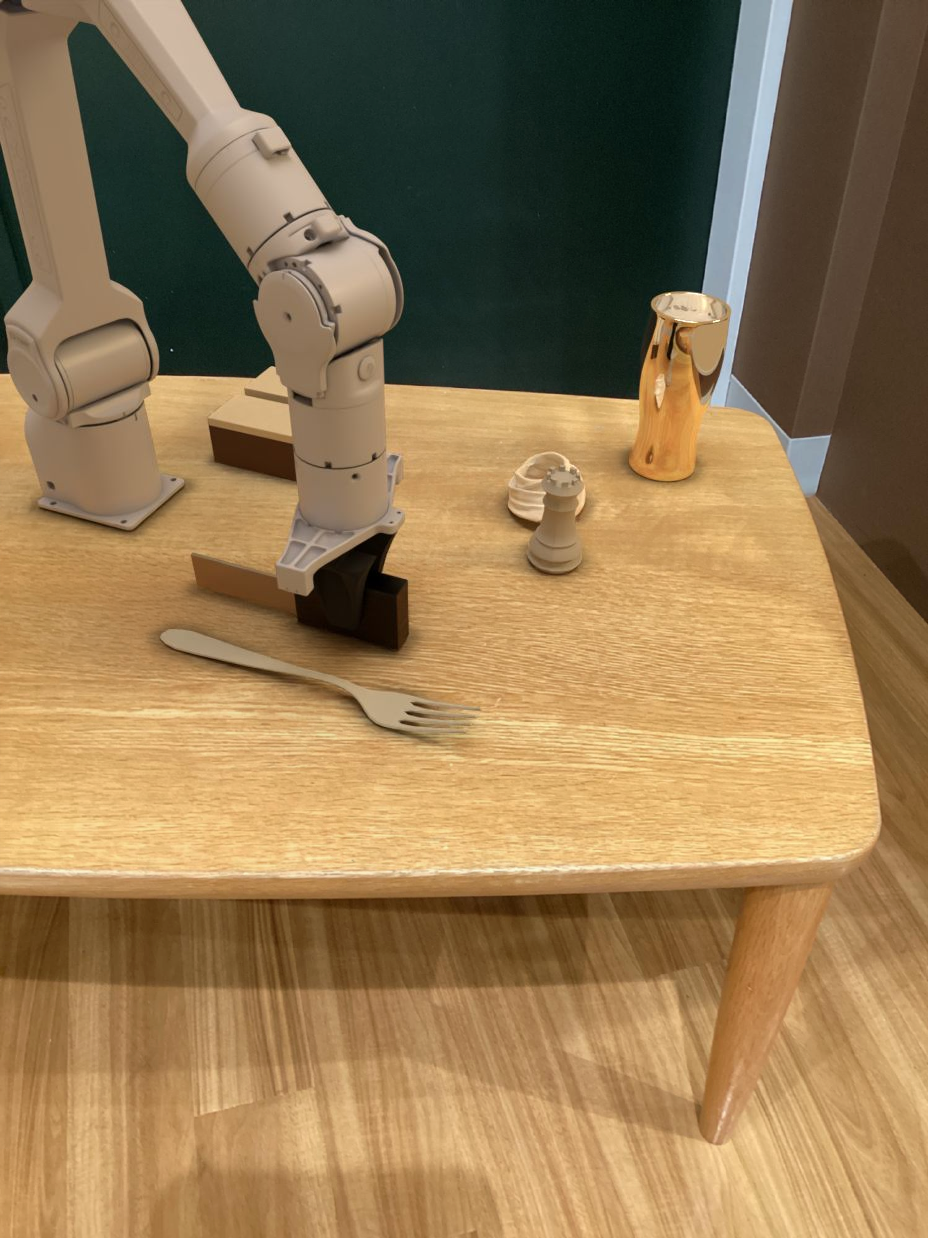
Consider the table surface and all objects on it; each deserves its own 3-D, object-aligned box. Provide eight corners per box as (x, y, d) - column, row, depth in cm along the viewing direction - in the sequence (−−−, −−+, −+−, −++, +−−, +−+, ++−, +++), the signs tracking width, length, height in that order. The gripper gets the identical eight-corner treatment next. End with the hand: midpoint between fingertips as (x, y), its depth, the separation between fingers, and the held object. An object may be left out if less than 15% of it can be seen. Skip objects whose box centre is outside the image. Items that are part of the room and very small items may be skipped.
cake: (214, 461, 84) (206, 417, 81) (243, 436, 88) (236, 392, 85) (312, 484, 81) (307, 439, 79) (337, 457, 85) (334, 413, 82)
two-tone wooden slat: (409, 634, 66) (408, 579, 63) (397, 651, 65) (396, 596, 62) (205, 577, 71) (194, 523, 67) (190, 592, 69) (179, 538, 66)
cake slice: (249, 430, 88) (243, 387, 86) (276, 408, 92) (271, 365, 89) (343, 451, 86) (340, 407, 83) (366, 427, 90) (364, 384, 87)
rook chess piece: (579, 580, 72) (590, 493, 67) (522, 572, 73) (529, 485, 67) (584, 547, 75) (596, 462, 70) (530, 539, 76) (538, 454, 71)
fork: (175, 621, 67) (171, 602, 66) (484, 722, 60) (485, 703, 59) (147, 648, 65) (142, 629, 64) (464, 756, 58) (465, 737, 57)
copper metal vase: (710, 459, 86) (746, 302, 77) (682, 492, 82) (716, 330, 72) (642, 438, 89) (668, 283, 79) (611, 469, 85) (634, 309, 75)
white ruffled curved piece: (569, 546, 77) (580, 501, 73) (492, 525, 78) (499, 479, 74) (590, 492, 82) (600, 447, 79) (518, 472, 83) (525, 427, 80)
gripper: (345, 521, 51) (358, 695, 59) (443, 406, 61) (441, 569, 70) (234, 493, 52) (262, 667, 61) (347, 386, 63) (357, 548, 72)
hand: (351, 613), depth 66 cm, fingers closed on two-tone wooden slat, 2 cm apart
